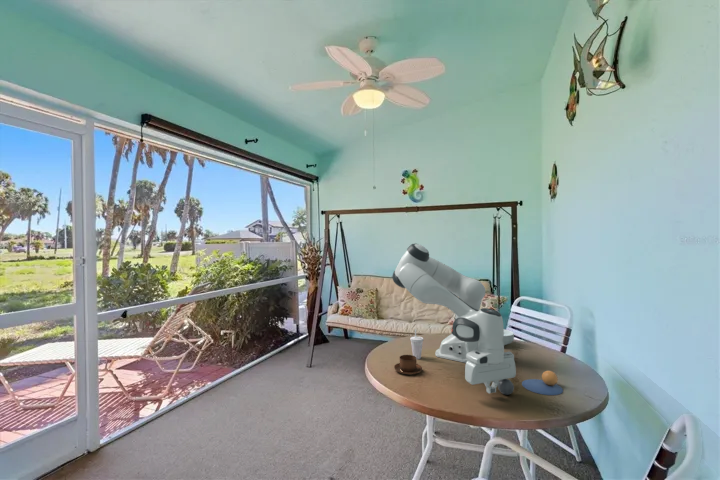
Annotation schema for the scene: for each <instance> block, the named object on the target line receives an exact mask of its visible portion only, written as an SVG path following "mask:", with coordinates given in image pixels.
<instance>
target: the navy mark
mask: <svg viewBox="0 0 720 480" xmlns="http://www.w3.org/2000/svg"><path fill="white" fill-rule="evenodd" d="M521 386H522V387H523V388H524V389H526V390H527V391H529V392H533V393H535V394H539V395H544V396H557V395H561V394H563V392H564V389H563V388H562V386H560V385H558V384H557V383H556V384H555V385H553V386H549V385H547V384H545V383H544V382H543V380H542V379H540V378H539V379H537V378H530V379H525V380H522V381H521Z"/></svg>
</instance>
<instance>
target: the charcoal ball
mask: <svg viewBox="0 0 720 480" xmlns="http://www.w3.org/2000/svg"><path fill="white" fill-rule="evenodd" d="M497 389H498V392H500V393H501V394H503V395H506V396H508V395H511V394H513V392H514V389H515V387H514V383H513V382H512V381H511V380H510V379H509V378H508V379H503V380H499V383H498V386H497Z"/></svg>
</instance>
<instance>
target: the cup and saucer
mask: <svg viewBox="0 0 720 480" xmlns="http://www.w3.org/2000/svg"><path fill="white" fill-rule="evenodd" d="M400 369H401V370H402V371H403V372H401V371H400ZM394 370H395V371H396V372H397V373H399V374H402V375H411V376H412V375H417V374H418V373H420V372H422V370H423V367H422V366H421V365H420V364H418V363H417V359H416V357H415V356H413V354H403V355H400V356H399V362H398V363H396V364H395V365H394Z"/></svg>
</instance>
